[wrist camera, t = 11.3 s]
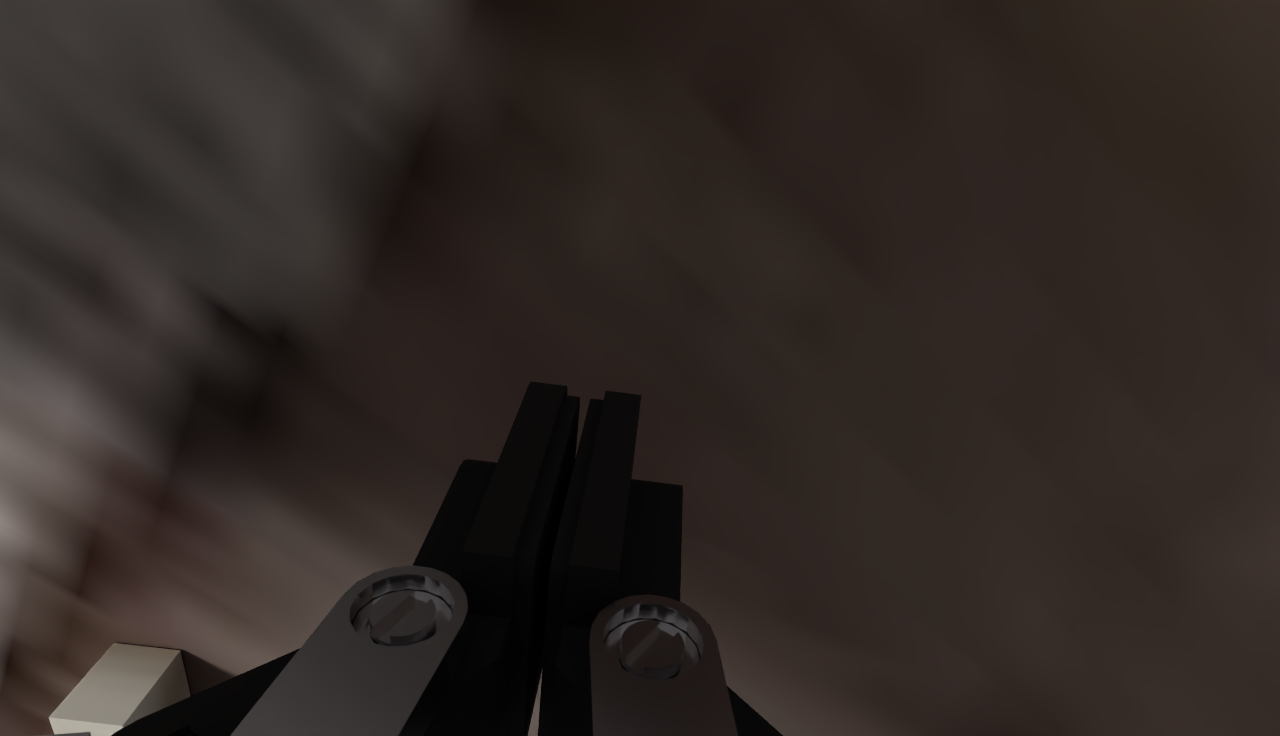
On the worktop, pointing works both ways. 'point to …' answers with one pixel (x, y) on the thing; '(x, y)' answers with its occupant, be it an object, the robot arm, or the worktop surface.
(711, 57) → the worktop surface
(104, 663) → the bay frame
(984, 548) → the worktop surface
